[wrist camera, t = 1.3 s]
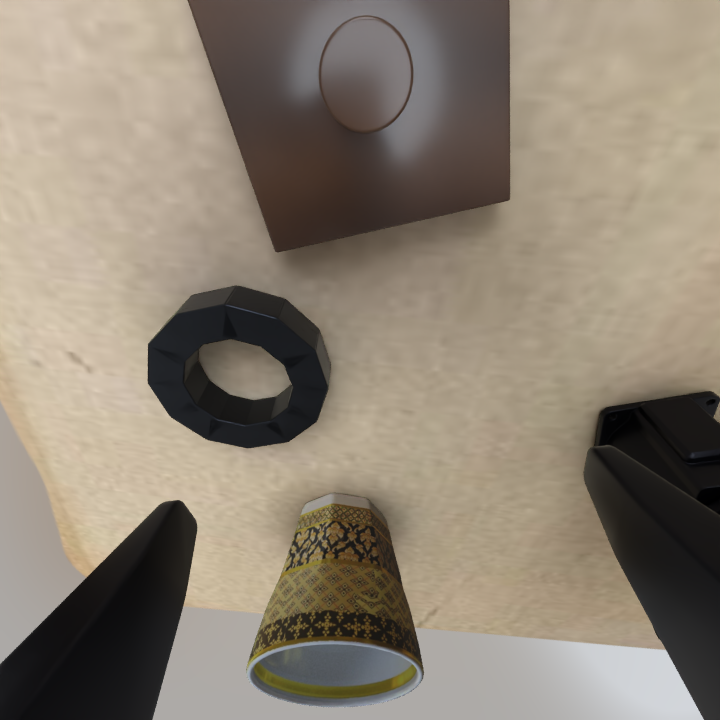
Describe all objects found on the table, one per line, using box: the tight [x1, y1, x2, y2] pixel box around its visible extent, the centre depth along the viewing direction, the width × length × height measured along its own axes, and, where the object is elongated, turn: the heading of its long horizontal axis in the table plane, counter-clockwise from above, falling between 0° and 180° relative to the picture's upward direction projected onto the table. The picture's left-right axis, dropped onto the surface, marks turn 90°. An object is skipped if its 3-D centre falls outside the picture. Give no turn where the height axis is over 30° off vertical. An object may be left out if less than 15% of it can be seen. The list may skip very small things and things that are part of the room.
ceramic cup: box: [246, 493, 424, 707], centre depth 27 cm, size 13×10×10 cm
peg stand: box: [188, 0, 510, 252], centre depth 12 cm, size 10×10×7 cm
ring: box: [148, 286, 331, 448], centre depth 21 cm, size 9×9×2 cm
